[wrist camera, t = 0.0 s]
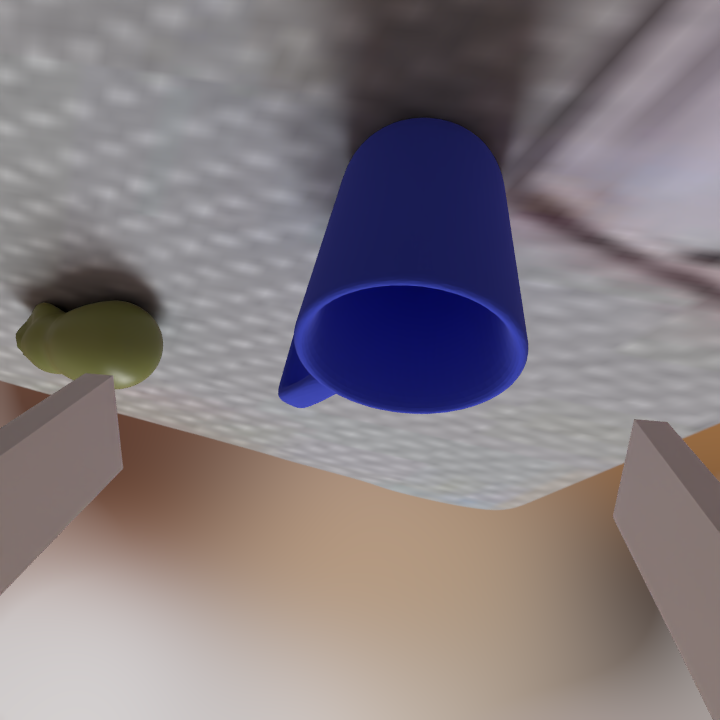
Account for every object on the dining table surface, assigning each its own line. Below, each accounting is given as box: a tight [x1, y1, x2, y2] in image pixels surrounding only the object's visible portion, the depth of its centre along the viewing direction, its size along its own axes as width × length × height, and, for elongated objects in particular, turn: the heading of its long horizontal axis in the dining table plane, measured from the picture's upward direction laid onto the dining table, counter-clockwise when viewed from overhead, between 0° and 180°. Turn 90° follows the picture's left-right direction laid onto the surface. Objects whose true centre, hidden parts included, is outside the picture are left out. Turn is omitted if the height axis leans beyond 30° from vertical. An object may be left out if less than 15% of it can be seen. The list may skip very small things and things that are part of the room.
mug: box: [278, 118, 528, 414], centre depth 25 cm, size 8×12×10 cm
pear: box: [16, 300, 163, 389], centre depth 38 cm, size 6×5×10 cm
